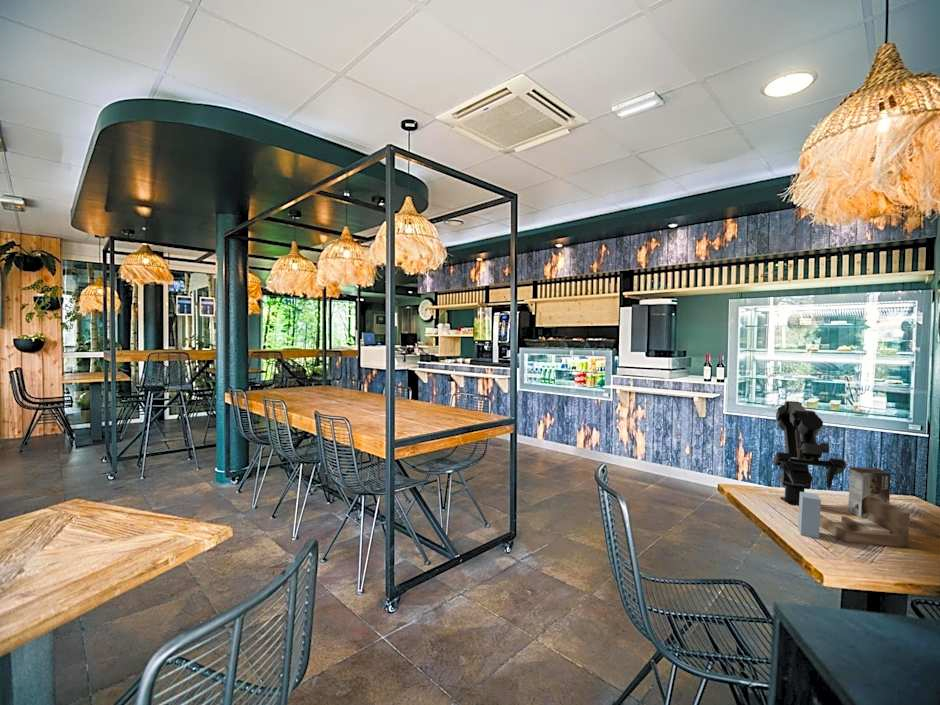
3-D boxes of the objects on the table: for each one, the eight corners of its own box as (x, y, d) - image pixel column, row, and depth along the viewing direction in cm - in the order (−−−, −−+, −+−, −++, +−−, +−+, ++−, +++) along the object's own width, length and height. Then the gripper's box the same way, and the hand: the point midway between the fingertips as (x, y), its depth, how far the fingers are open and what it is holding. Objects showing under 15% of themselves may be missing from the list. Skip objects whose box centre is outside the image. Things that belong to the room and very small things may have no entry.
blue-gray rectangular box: (797, 528, 144) (799, 491, 144) (815, 531, 142) (817, 494, 142) (800, 535, 139) (802, 497, 139) (818, 538, 137) (820, 499, 136)
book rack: (816, 523, 148) (817, 493, 148) (872, 527, 146) (874, 497, 146) (845, 542, 135) (847, 509, 134) (907, 546, 133) (909, 513, 132)
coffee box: (874, 512, 160) (876, 467, 159) (889, 519, 153) (892, 473, 153) (846, 510, 160) (849, 466, 160) (860, 517, 154) (863, 471, 153)
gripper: (778, 429, 152) (781, 472, 144) (847, 435, 144) (855, 482, 136) (772, 443, 160) (775, 485, 152) (838, 450, 152) (844, 495, 144)
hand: (811, 486), depth 146 cm, fingers open, 9 cm apart
